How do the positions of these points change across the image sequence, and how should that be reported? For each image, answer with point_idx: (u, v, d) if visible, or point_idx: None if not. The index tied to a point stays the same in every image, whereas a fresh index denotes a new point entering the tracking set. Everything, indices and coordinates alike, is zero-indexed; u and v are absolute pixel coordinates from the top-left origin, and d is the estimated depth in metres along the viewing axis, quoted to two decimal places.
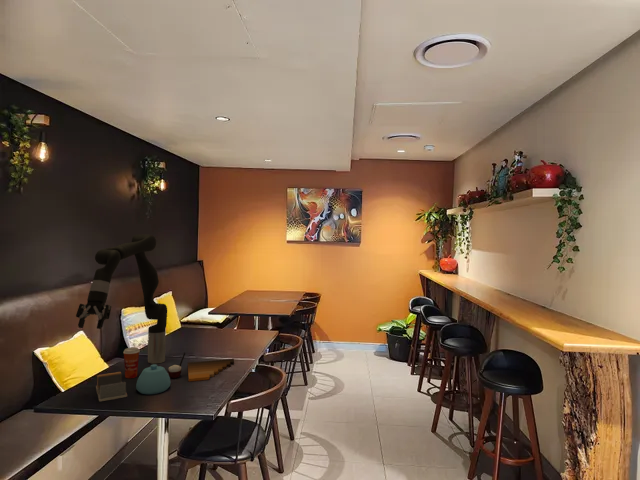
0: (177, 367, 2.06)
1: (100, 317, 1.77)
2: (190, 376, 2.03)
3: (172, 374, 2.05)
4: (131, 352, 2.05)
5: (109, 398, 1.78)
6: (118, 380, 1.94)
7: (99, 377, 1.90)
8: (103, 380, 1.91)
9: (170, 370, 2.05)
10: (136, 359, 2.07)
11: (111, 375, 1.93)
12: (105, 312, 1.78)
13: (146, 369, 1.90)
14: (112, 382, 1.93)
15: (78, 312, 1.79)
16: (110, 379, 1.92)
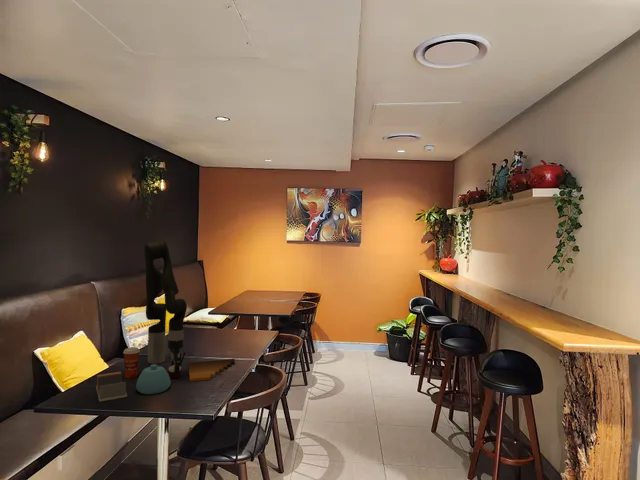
0: None
1: None
2: (191, 376, 2.03)
3: (172, 374, 2.05)
4: (131, 352, 2.05)
5: (109, 398, 1.78)
6: (118, 380, 1.94)
7: (99, 377, 1.90)
8: (103, 380, 1.91)
9: (170, 370, 2.05)
10: (136, 359, 2.07)
11: (111, 375, 1.93)
12: None
13: (146, 369, 1.90)
14: (112, 382, 1.93)
15: None
16: (110, 379, 1.92)
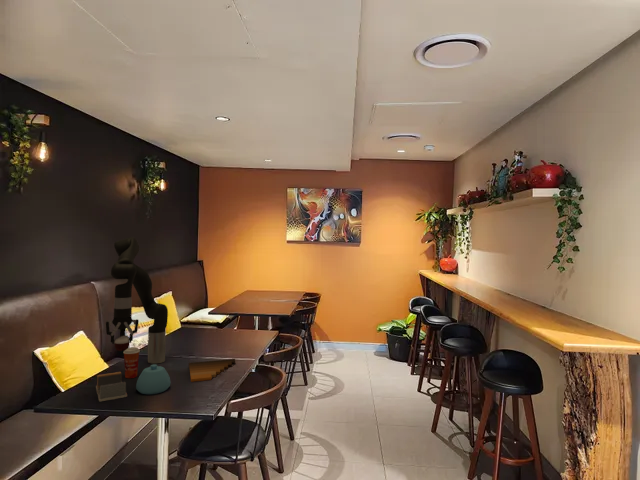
0: (128, 337, 1.90)
1: None
2: (192, 376, 2.02)
3: (127, 345, 1.88)
4: (131, 352, 2.05)
5: (109, 398, 1.78)
6: (118, 380, 1.94)
7: (99, 377, 1.90)
8: (103, 380, 1.91)
9: (125, 341, 1.87)
10: (136, 359, 2.07)
11: (111, 375, 1.93)
12: None
13: (146, 369, 1.90)
14: (112, 382, 1.93)
15: None
16: (110, 379, 1.92)
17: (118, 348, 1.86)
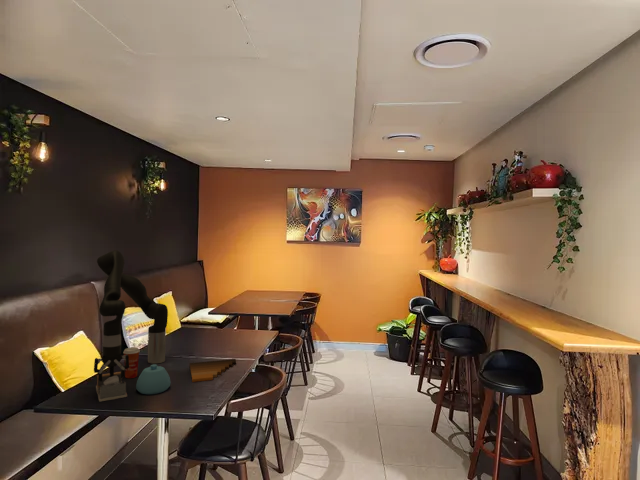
0: (117, 376, 1.88)
1: None
2: (193, 376, 2.02)
3: None
4: (131, 352, 2.05)
5: (109, 398, 1.78)
6: None
7: None
8: (103, 380, 1.91)
9: (115, 382, 1.85)
10: (136, 359, 2.07)
11: None
12: None
13: (146, 369, 1.90)
14: None
15: None
16: None
17: None
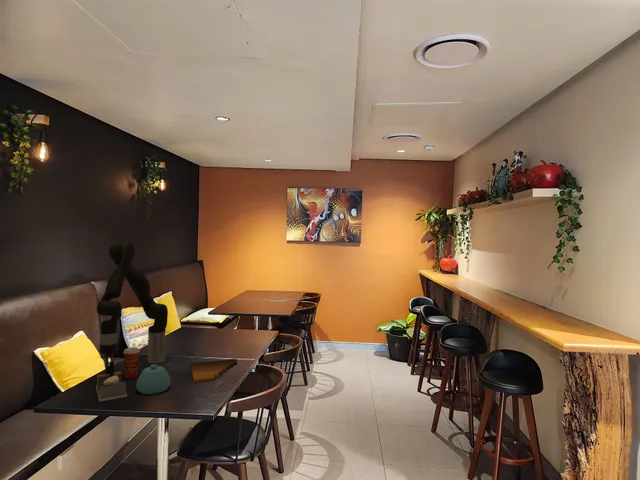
0: (117, 376, 1.88)
1: None
2: (195, 377, 2.02)
3: None
4: (131, 352, 2.05)
5: (109, 398, 1.78)
6: None
7: (99, 377, 1.90)
8: (103, 380, 1.91)
9: (115, 382, 1.85)
10: (136, 359, 2.07)
11: None
12: None
13: (146, 369, 1.90)
14: None
15: None
16: None
17: None
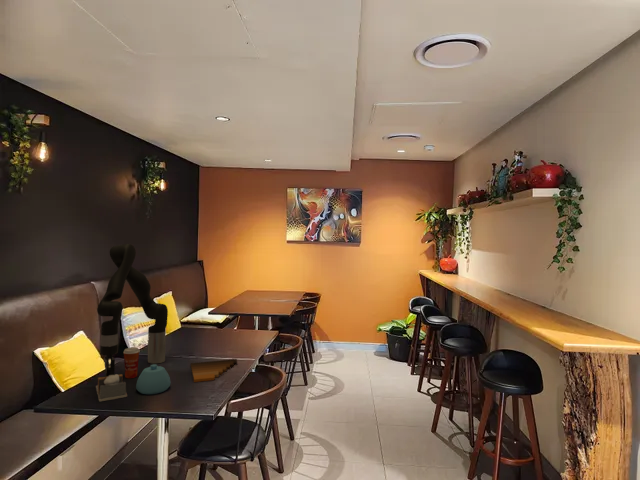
0: (118, 375, 1.86)
1: None
2: (195, 377, 2.02)
3: None
4: (131, 352, 2.05)
5: (109, 398, 1.78)
6: None
7: (100, 380, 1.87)
8: None
9: None
10: (136, 359, 2.07)
11: None
12: None
13: (146, 369, 1.90)
14: None
15: None
16: None
17: None
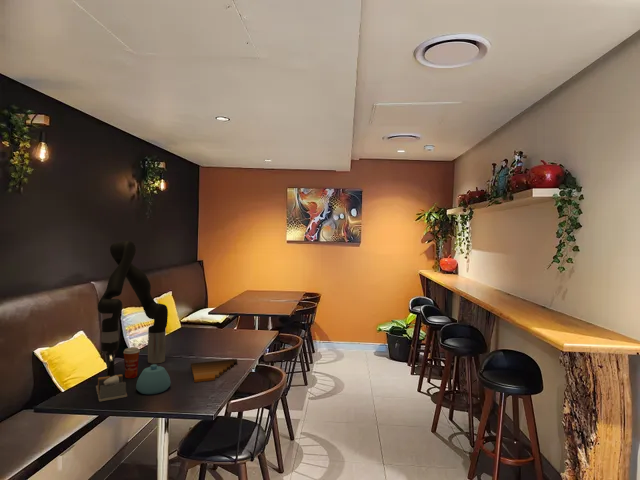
0: None
1: None
2: (196, 377, 2.02)
3: None
4: (131, 352, 2.05)
5: (109, 398, 1.78)
6: None
7: (100, 380, 1.87)
8: None
9: (115, 382, 1.85)
10: (136, 359, 2.07)
11: None
12: None
13: (146, 369, 1.90)
14: None
15: None
16: None
17: None
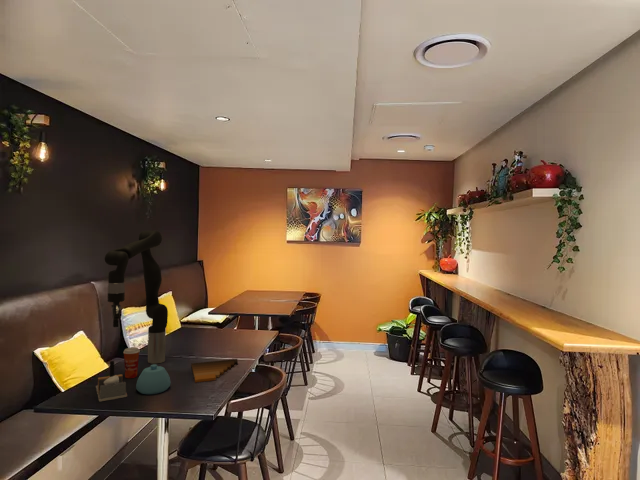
0: None
1: None
2: (196, 377, 2.02)
3: None
4: (131, 352, 2.05)
5: (109, 398, 1.78)
6: None
7: (100, 380, 1.87)
8: None
9: (115, 382, 1.85)
10: (136, 359, 2.07)
11: None
12: None
13: (146, 369, 1.90)
14: None
15: None
16: None
17: None
